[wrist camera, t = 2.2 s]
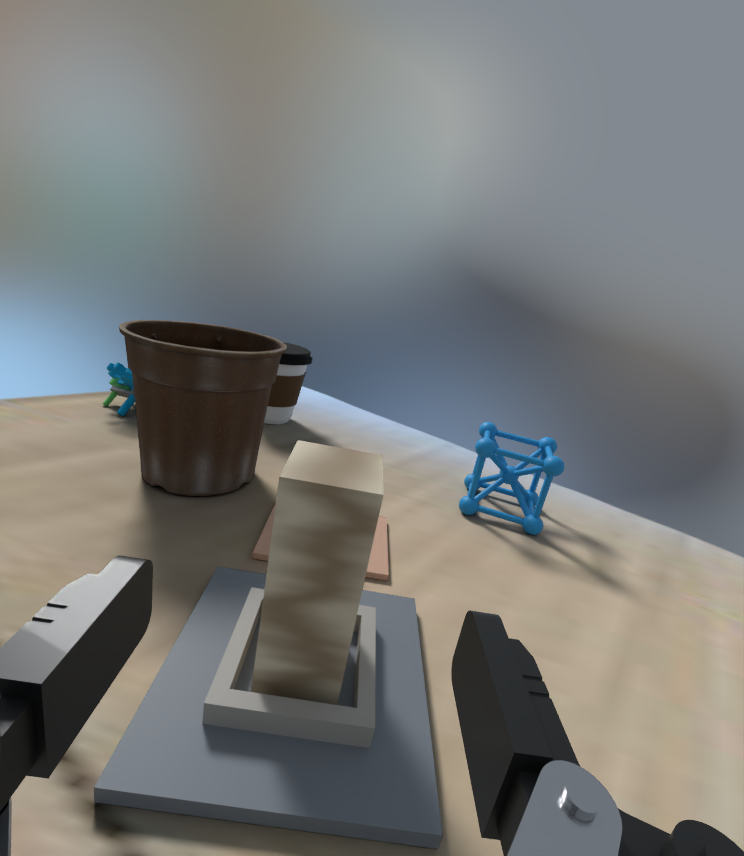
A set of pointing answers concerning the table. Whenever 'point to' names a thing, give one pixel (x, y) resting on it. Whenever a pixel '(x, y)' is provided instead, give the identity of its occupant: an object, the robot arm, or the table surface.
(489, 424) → the molecular structure
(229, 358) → the plant pot
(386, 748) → the puzzle board
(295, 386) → the coffee cup
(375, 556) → the terracotta pad
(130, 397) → the gear
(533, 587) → the table surface
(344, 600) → the maple block
